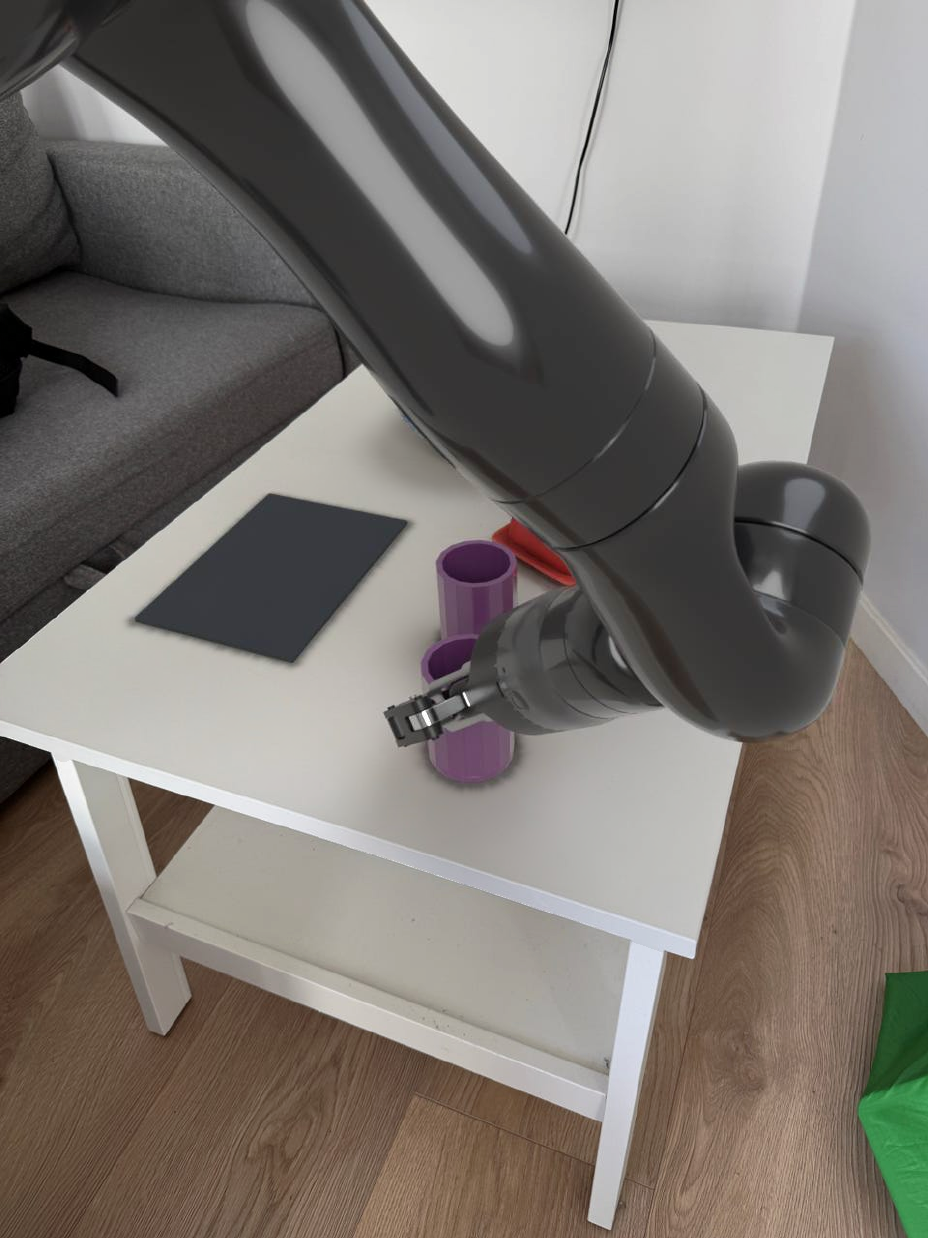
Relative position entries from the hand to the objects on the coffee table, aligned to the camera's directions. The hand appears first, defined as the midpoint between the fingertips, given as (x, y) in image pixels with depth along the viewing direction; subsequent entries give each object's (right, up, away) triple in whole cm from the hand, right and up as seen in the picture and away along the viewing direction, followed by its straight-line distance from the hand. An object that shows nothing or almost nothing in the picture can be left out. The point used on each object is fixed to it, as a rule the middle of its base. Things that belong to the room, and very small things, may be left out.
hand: (459, 693), depth 65 cm
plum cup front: (+1, -4, +2) cm, 5 cm away
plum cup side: (+2, +3, +11) cm, 12 cm away
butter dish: (+10, +12, +22) cm, 27 cm away
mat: (-17, +10, +21) cm, 29 cm away
